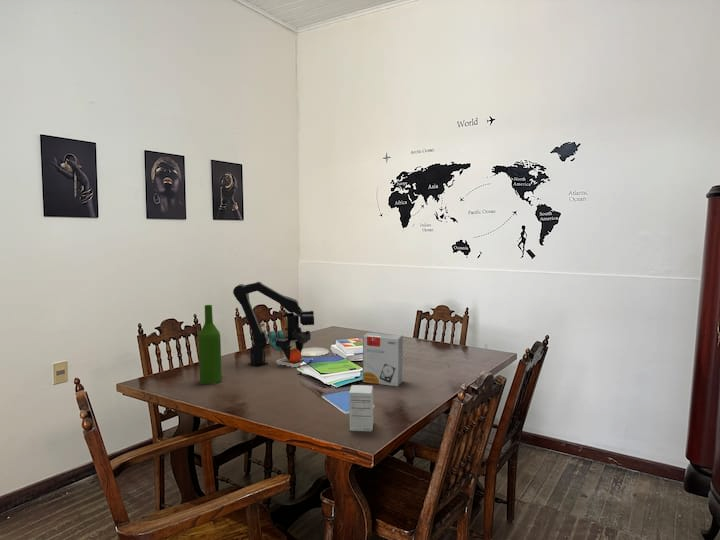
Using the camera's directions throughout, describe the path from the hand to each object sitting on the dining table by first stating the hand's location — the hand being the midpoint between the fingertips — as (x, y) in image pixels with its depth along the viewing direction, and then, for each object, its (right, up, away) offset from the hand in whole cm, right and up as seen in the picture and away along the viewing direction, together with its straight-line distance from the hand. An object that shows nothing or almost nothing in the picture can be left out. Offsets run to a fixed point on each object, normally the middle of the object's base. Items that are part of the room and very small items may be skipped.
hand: (293, 357), depth 229 cm
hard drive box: (+41, -5, -29) cm, 51 cm away
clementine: (0, -3, 0) cm, 3 cm away
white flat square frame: (0, -3, 0) cm, 3 cm away
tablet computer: (+27, -8, -53) cm, 60 cm away
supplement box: (+32, -9, -74) cm, 82 cm away
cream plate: (+8, -1, +18) cm, 19 cm away
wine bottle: (-32, -5, -26) cm, 42 cm away
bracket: (-12, 0, +33) cm, 35 cm away
